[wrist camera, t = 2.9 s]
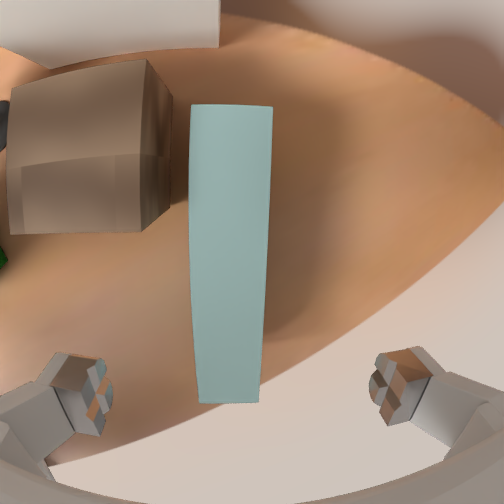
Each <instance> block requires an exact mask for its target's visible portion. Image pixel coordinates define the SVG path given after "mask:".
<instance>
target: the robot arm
mask: <svg viewBox="0 0 504 504" xmlns="http://www.w3.org/2000/svg"><path fill="white" fill-rule="evenodd" d="M375 366H376V368H377V370H376V371H375V372H374V373H373V374H372V375H371V378H370V381H369V393H370V396H371V399H372V401H373V402H374V403H375V404H377V405H379V406H381V408H380V411H379V413H380V414H381V416H382V418H383V419H384V421H385V423H386V424H387V426H390V425H395V424H399V423H403V422H406V421H410V422H411V423H413V424H414V425H416V426H417V427H419V428H420V429H422V430H423V431H425V432H427V433H428V434H430V435H431V436H433V437H435V438H436V439H437V440H439V441H441V442H442V443H444V444H446V445H447V446H449V447H451V449H450V451H449V452H448V453H447V454H446V456H445V458H444V460H443V461H442V462H439V463H437V464H434V465H432V466H430V467H428V468H425V469H423V470H420V471H418V472H415V473H413V474H410V475H407V476H405V477H402V478H399V479H396V480H393V481H390V482H387V483H384V484H381V485H378V486H375V487H371V488H367V489H364V490H360V491H357V492H352V493H348V494H344V495H340V496H335V497H331V498H326V499H321V500H315V501H310V502H304V503H297V504H504V392H503V391H500V390H497V389H495V388H492V387H489V386H486V385H484V384H481V383H478V382H476V381H473V380H470V379H468V378H465V377H462V376H460V375H457V374H455V373H452V372H445V370H444V369H443V368H442V367H441V366H440V365H439V364H438V363H437V362H436V361H435V360H434V359H433V358H432V357H431V356H430V355H429V354H428V353H427V352H426V351H425V350H424V349H423V348H422V347H420V346H416V347H412V348H407V349H405V350H399V351H393V352H387V353H380V354H379V355H378V357H377V358H376V362H375ZM106 370H107V369H106V366H105V362H104V360H102V359H101V358H96V357H89V356H83V355H77V354H70V353H64V352H58V353H56V354H55V355H54V356H53V358H52V359H51V360H50V362H49V363H48V364H47V366H46V367H45V369H44V370H43V371H42V373H41V374H40V376H39V377H38V378H37V380H36V381H35V383H34V382H29V383H27V384H25V385H23V386H20V387H18V388H16V389H14V390H12V391H10V392H8V393H6V394H4V395H2V396H0V504H146V503H139V502H133V501H128V500H122V499H117V498H112V497H108V496H103V495H99V494H95V493H91V492H88V491H84V490H80V489H77V488H73V487H70V486H67V485H64V484H61V483H57V482H56V481H55V479H54V477H53V476H52V474H51V472H50V470H49V468H48V466H47V464H46V462H45V460H44V458H45V457H47V456H48V455H49V454H50V453H52V452H53V451H54V450H55V449H57V448H58V447H59V446H60V445H61V444H63V443H64V442H65V441H66V440H68V439H69V438H70V437H71V436H72V435H74V434H75V432H78V433H83V434H88V435H93V436H99V437H100V435H101V433H102V430H103V427H104V424H105V422H106V420H105V417H104V415H103V414H105V413H106V412H108V411H109V410H110V408H111V405H112V398H113V392H112V386H111V382H110V381H109V380H108V379H107V378H106V377H105V376H104V375H105V372H106Z"/></svg>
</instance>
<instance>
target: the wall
mask: <svg viewBox="0 0 504 504" xmlns="http://www.w3.org/2000/svg"><path fill="white" fill-rule="evenodd" d="M220 4H221V0H0V46H1V47H3V48H5V49H8V50H10V51H12V52H14V53H16V54H19V55H21V56H23V57H25V58H27V59H29V60H31V61H33V62H36V63H38V64H40V65H42V66H44V67H46V68H48V69H50V70H51V69H55V68H58V67H62V66H66V65H70V64H74V63H79V62H83V61H88V60H93V59H98V58H103V57H109V56H115V55H122V54H129V53H137V52H146V51H156V50H168V49H186V48H219V35H220V7H221V5H220Z"/></svg>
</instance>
